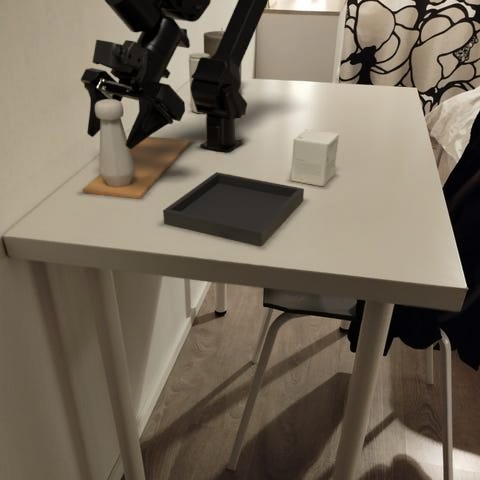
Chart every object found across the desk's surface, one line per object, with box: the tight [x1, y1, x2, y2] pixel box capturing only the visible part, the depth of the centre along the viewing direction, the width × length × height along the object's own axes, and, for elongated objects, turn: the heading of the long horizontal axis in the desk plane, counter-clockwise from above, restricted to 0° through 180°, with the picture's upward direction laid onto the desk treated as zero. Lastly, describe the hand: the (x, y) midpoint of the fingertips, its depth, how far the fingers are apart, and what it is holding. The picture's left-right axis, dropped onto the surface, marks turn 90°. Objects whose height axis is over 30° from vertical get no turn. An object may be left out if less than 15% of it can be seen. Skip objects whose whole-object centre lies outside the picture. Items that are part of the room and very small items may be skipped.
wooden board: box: [82, 136, 191, 199], centre depth 95 cm, size 28×10×1 cm, turn 168°
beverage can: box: [188, 52, 210, 114], centre depth 119 cm, size 5×5×12 cm
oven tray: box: [162, 171, 305, 247], centre depth 79 cm, size 17×16×2 cm
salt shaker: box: [95, 99, 135, 187], centre depth 83 cm, size 6×6×13 cm
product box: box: [290, 129, 340, 187], centre depth 88 cm, size 6×6×7 cm
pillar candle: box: [203, 27, 242, 94], centre depth 132 cm, size 10×10×15 cm
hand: (108, 141), depth 82 cm, fingers open, 9 cm apart
